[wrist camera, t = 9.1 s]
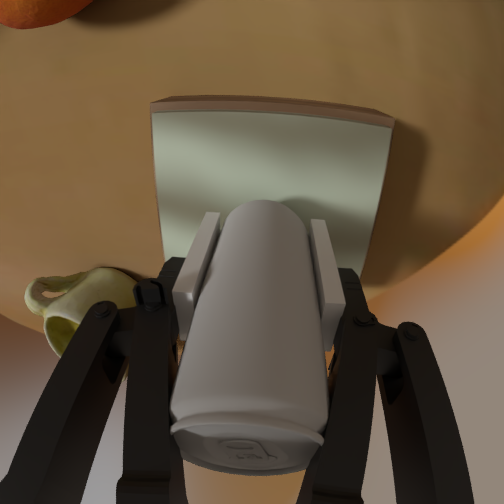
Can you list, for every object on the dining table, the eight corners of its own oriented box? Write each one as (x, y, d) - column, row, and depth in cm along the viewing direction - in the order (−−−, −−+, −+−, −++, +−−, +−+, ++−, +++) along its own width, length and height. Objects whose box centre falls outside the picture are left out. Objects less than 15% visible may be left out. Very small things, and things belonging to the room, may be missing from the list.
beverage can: (235, 277, 19) (201, 475, 9) (208, 206, 17) (125, 417, 7) (314, 262, 18) (337, 470, 8) (297, 185, 16) (325, 411, 6)
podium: (171, 96, 19) (143, 105, 15) (375, 109, 19) (401, 121, 14) (181, 263, 27) (165, 302, 23) (343, 275, 26) (354, 315, 22)
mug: (191, 323, 28) (124, 403, 21) (142, 334, 35) (88, 393, 27) (109, 215, 25) (20, 279, 18) (78, 251, 32) (13, 302, 24)
